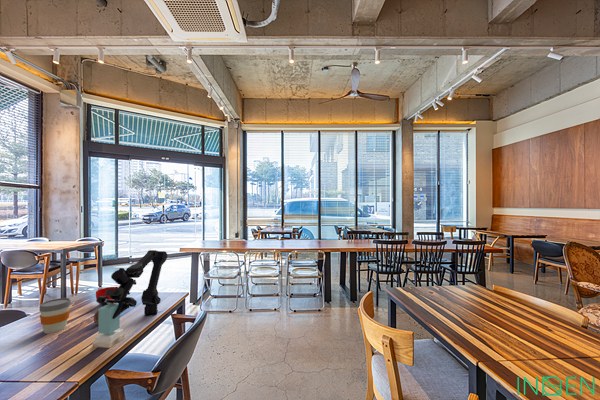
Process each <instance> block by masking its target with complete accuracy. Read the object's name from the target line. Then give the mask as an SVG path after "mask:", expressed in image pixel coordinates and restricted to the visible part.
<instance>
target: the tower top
mask: <svg viewBox="0 0 600 400" xmlns="http://www.w3.org/2000/svg"><path fill="white" fill-rule="evenodd" d="M123 334H124V329H123V328H121V329H120V328H118V329H117V330H115V331H114V332H112V333H110V334H102V333H98V335H96V336H95V337H94V339H95V340H94V342H105V343H111V342H113V341H114V340H116V339H117V338H118V337H120V336H121V335H123Z"/></svg>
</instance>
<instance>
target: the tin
mask: <svg viewBox="0 0 600 400" xmlns="http://www.w3.org/2000/svg"><path fill="white" fill-rule="evenodd" d="M93 321H94V322H93V323H94V324H95V325H99V309H97V310H96V311H95V313H94V315H93Z"/></svg>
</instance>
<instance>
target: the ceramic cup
mask: <svg viewBox="0 0 600 400" xmlns="http://www.w3.org/2000/svg"><path fill="white" fill-rule="evenodd" d="M118 287H119V286H108V287H103V288H100V289H97V290H96V291H95V298H96V300H97V298H98V297H100V296H105V293H106V290H107V289H115V288H118ZM106 297H108V298H109V299H112V298H110V296H108V295H107V296H106ZM111 304H114V303H111ZM99 306H101V307H102V305H101V304H99Z"/></svg>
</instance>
